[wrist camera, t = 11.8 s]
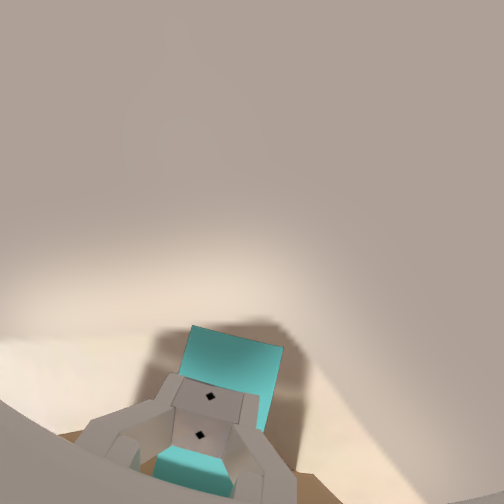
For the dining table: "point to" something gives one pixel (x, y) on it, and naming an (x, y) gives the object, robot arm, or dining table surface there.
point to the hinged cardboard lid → (235, 378)
